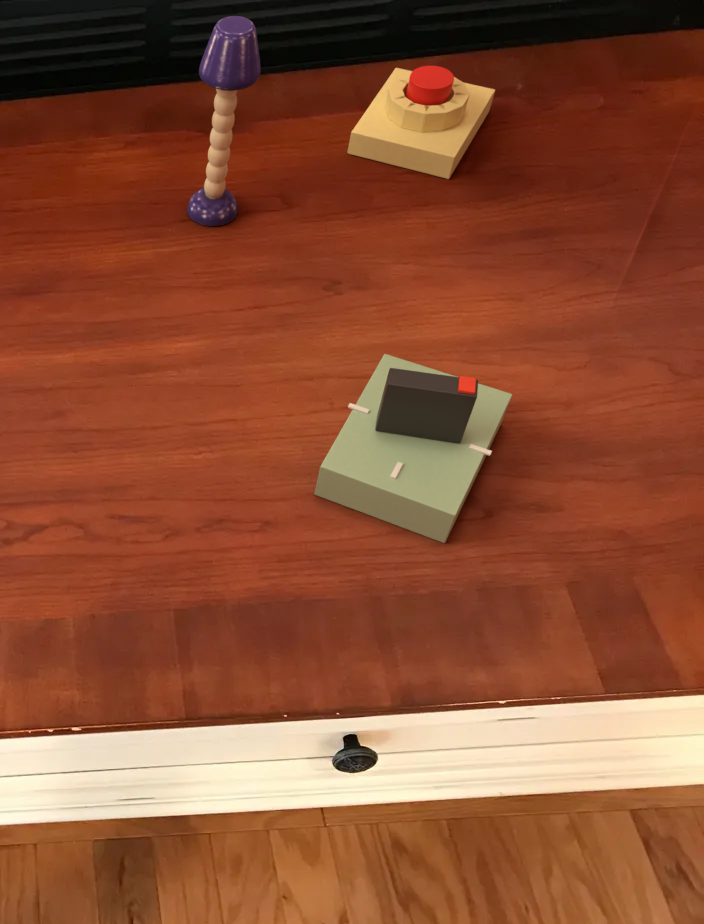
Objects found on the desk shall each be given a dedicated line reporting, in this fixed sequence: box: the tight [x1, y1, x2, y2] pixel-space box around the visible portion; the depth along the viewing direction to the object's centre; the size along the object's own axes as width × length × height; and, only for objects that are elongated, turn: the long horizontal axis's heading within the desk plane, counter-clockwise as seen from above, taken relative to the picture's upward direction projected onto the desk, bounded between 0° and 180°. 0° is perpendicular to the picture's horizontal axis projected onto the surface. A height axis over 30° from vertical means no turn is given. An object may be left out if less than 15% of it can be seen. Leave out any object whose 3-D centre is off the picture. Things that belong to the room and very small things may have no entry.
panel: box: [314, 353, 513, 544], centre depth 78 cm, size 12×10×3 cm
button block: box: [347, 67, 496, 180], centre depth 100 cm, size 11×9×4 cm
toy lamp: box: [186, 15, 262, 227], centre depth 91 cm, size 5×5×17 cm
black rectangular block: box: [375, 368, 479, 443], centre depth 75 cm, size 6×2×5 cm, turn 72°
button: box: [406, 65, 455, 106], centre depth 98 cm, size 4×4×2 cm
